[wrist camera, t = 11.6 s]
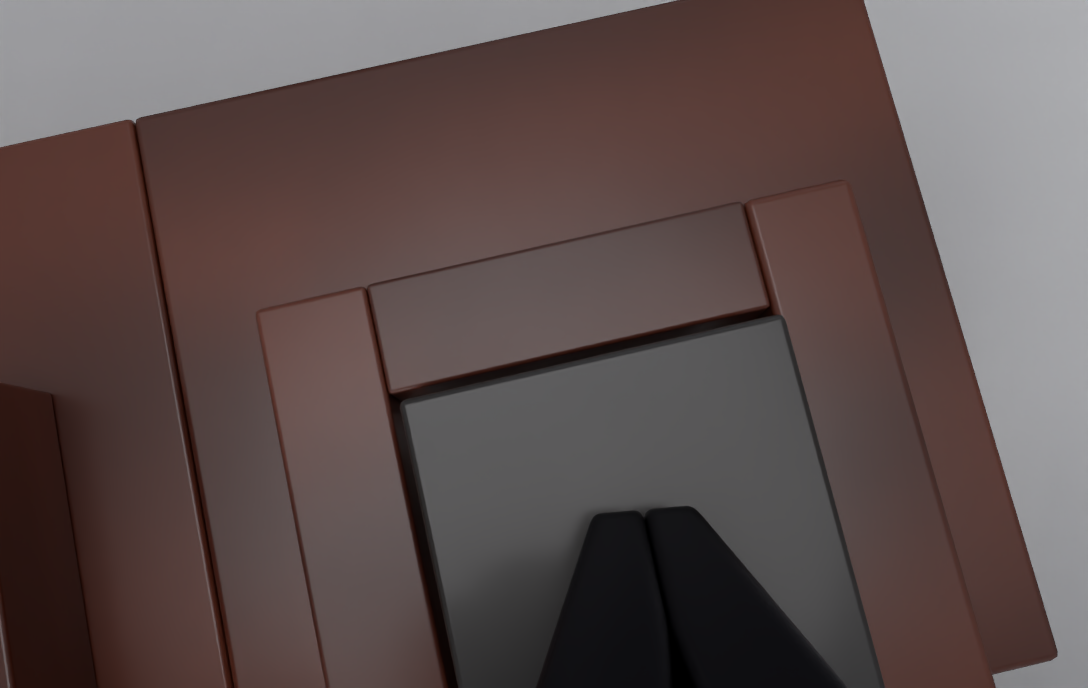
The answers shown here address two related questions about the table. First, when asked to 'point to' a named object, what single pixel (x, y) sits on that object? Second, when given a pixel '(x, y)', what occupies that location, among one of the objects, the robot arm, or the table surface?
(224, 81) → the table surface
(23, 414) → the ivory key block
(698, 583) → the robot arm
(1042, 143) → the table surface
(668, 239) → the brown wooden block
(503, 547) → the black key
